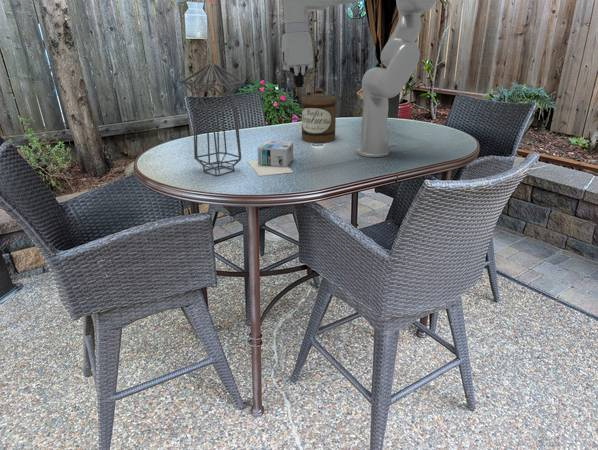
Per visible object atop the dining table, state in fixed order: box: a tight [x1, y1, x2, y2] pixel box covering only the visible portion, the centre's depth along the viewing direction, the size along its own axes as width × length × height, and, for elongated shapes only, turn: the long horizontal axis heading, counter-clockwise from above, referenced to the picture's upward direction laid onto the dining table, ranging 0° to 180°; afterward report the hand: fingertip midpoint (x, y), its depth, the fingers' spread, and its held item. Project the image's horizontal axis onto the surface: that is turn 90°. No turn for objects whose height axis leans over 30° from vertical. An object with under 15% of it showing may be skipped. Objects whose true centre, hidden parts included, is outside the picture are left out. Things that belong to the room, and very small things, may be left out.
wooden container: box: [301, 87, 337, 144], centre depth 186 cm, size 15×15×22 cm
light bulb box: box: [257, 140, 294, 167], centre depth 155 cm, size 11×7×11 cm
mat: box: [247, 160, 294, 177], centre depth 152 cm, size 12×18×1 cm, turn 19°
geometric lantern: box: [181, 63, 246, 177], centre depth 141 cm, size 16×16×35 cm
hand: (299, 86), depth 148 cm, fingers closed
